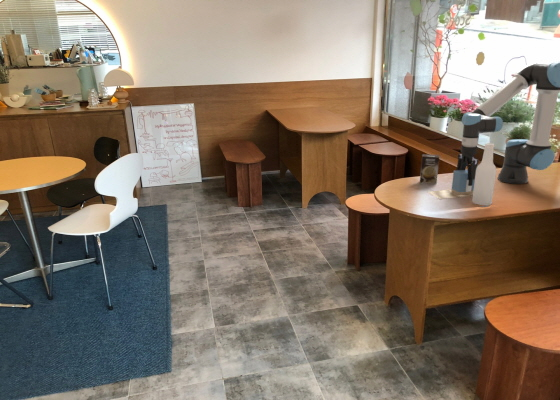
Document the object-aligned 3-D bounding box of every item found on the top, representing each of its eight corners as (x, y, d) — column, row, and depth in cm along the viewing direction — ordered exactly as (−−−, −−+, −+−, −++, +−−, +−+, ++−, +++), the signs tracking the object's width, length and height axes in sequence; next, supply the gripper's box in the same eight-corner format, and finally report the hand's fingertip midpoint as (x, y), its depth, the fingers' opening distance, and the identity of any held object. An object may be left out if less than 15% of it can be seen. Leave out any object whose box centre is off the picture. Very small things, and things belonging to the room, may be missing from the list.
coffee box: (419, 184, 250) (421, 156, 245) (419, 181, 256) (422, 153, 251) (436, 185, 247) (439, 157, 242) (436, 182, 253) (439, 154, 248)
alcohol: (469, 201, 223) (476, 141, 213) (487, 201, 222) (496, 141, 212) (474, 207, 215) (483, 145, 205) (494, 207, 214) (503, 145, 204)
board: (464, 190, 239) (464, 188, 239) (478, 197, 228) (478, 195, 228) (426, 193, 235) (427, 191, 235) (439, 201, 224) (439, 199, 224)
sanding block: (468, 189, 236) (471, 169, 233) (475, 192, 231) (478, 172, 227) (451, 191, 234) (453, 170, 231) (458, 194, 229) (460, 173, 225)
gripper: (451, 142, 232) (447, 184, 240) (474, 150, 215) (469, 195, 223) (464, 141, 234) (459, 183, 242) (488, 149, 216) (482, 194, 224)
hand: (464, 189), depth 232 cm, fingers closed on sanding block, 6 cm apart
